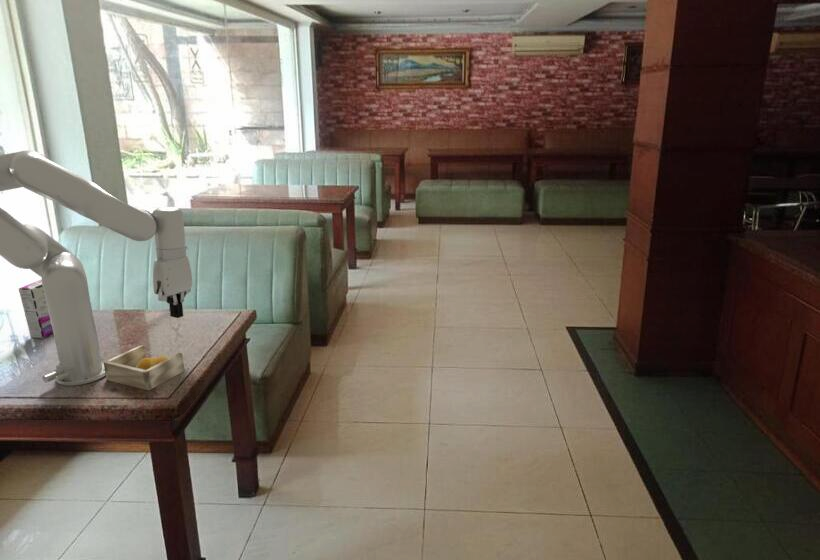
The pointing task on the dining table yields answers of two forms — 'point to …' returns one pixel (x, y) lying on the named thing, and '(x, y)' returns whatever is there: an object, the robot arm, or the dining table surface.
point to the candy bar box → (36, 310)
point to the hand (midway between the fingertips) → (176, 316)
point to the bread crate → (128, 374)
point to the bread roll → (150, 362)
